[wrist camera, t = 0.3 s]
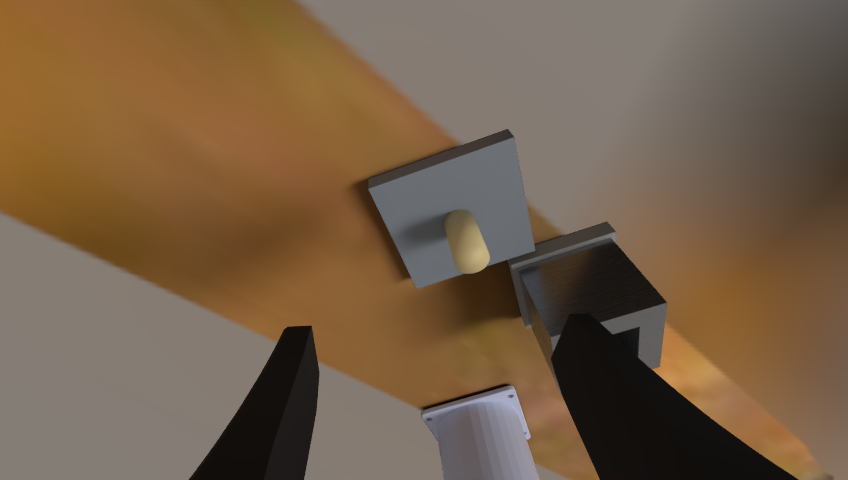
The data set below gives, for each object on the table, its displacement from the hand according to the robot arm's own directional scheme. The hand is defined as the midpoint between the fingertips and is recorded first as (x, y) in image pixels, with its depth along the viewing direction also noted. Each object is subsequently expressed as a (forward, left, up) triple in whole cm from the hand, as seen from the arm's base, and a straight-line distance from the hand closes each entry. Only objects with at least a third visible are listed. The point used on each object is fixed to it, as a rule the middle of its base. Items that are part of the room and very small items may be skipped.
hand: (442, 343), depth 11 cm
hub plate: (-3, -2, -10) cm, 10 cm away
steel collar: (-10, -7, -9) cm, 15 cm away
